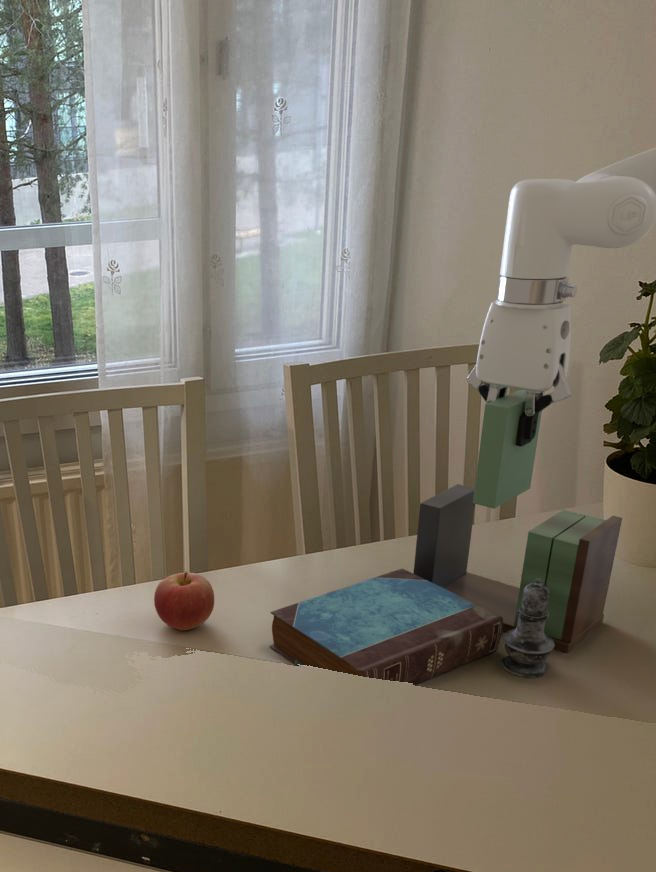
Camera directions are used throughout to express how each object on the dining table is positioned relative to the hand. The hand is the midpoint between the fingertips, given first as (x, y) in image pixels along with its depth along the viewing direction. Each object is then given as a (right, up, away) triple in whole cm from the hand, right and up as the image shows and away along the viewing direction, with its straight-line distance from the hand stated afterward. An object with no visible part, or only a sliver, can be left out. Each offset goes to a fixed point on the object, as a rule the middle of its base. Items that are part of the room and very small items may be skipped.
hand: (509, 439), depth 116 cm
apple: (-41, -24, +6) cm, 48 cm away
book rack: (+1, -22, +8) cm, 23 cm away
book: (-17, -27, -1) cm, 32 cm away
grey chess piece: (0, -29, -5) cm, 29 cm away
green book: (0, -7, +3) cm, 8 cm away
